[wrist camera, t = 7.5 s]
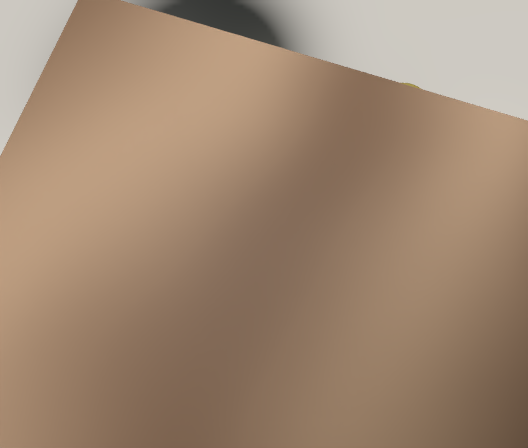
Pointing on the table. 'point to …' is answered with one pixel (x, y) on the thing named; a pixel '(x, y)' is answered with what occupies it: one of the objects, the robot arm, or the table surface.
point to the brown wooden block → (255, 251)
